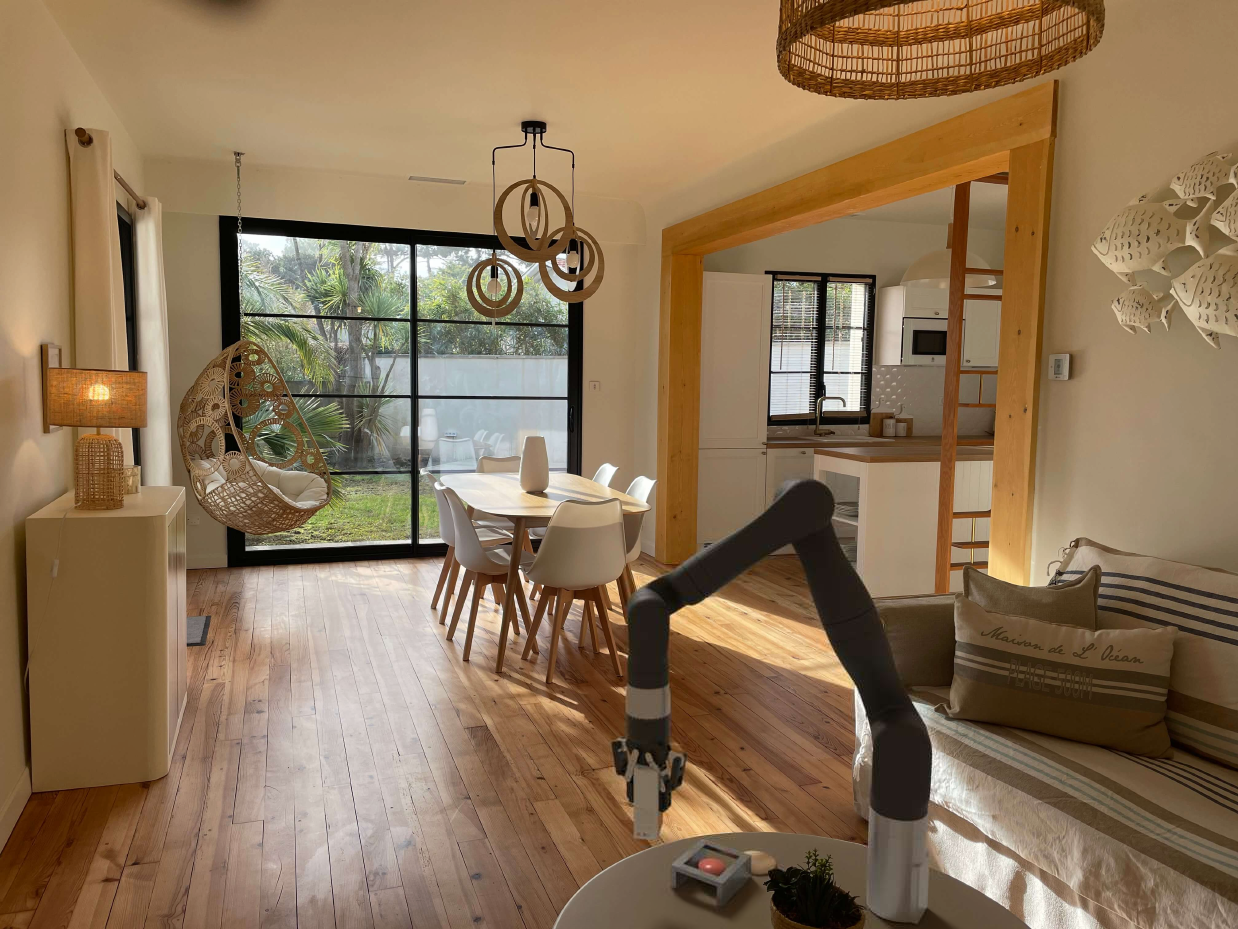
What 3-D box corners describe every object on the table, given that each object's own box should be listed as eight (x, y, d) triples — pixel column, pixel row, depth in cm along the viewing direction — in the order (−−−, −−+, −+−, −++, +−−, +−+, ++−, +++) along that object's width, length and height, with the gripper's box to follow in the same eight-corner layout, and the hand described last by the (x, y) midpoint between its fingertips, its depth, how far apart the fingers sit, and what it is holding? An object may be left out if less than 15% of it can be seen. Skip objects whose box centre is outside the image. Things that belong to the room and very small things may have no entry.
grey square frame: (751, 876, 155) (751, 855, 155) (721, 906, 146) (722, 883, 146) (701, 859, 161) (702, 838, 161) (670, 887, 152) (671, 864, 152)
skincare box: (658, 841, 145) (658, 771, 144) (633, 839, 146) (632, 769, 145) (663, 823, 151) (663, 756, 150) (639, 821, 152) (639, 755, 151)
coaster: (781, 861, 160) (781, 858, 160) (765, 879, 155) (765, 876, 155) (747, 850, 164) (747, 847, 164) (730, 866, 159) (730, 863, 159)
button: (733, 871, 154) (733, 863, 154) (718, 885, 150) (718, 878, 150) (705, 861, 157) (705, 853, 157) (689, 875, 153) (689, 867, 153)
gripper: (696, 710, 146) (696, 808, 147) (625, 694, 154) (625, 787, 156) (673, 724, 140) (673, 826, 141) (600, 707, 148) (601, 803, 149)
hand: (648, 805), depth 148 cm, fingers closed on skincare box, 5 cm apart
